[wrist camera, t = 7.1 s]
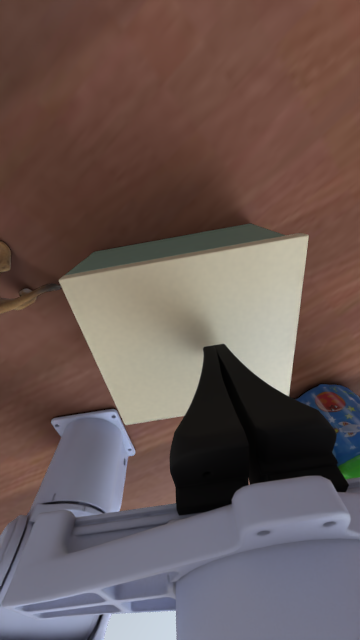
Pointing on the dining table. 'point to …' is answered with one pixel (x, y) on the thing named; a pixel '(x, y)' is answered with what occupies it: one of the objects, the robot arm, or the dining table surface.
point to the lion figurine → (1, 263)
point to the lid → (190, 320)
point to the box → (174, 247)
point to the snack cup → (340, 423)
